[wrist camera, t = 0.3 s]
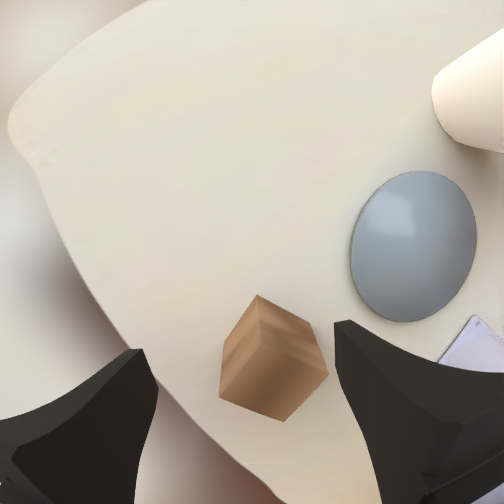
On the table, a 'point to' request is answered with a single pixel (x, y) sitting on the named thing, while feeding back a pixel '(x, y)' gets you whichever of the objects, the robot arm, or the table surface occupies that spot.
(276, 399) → the block
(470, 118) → the foam cup
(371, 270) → the dish
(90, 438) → the robot arm
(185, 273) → the table surface
